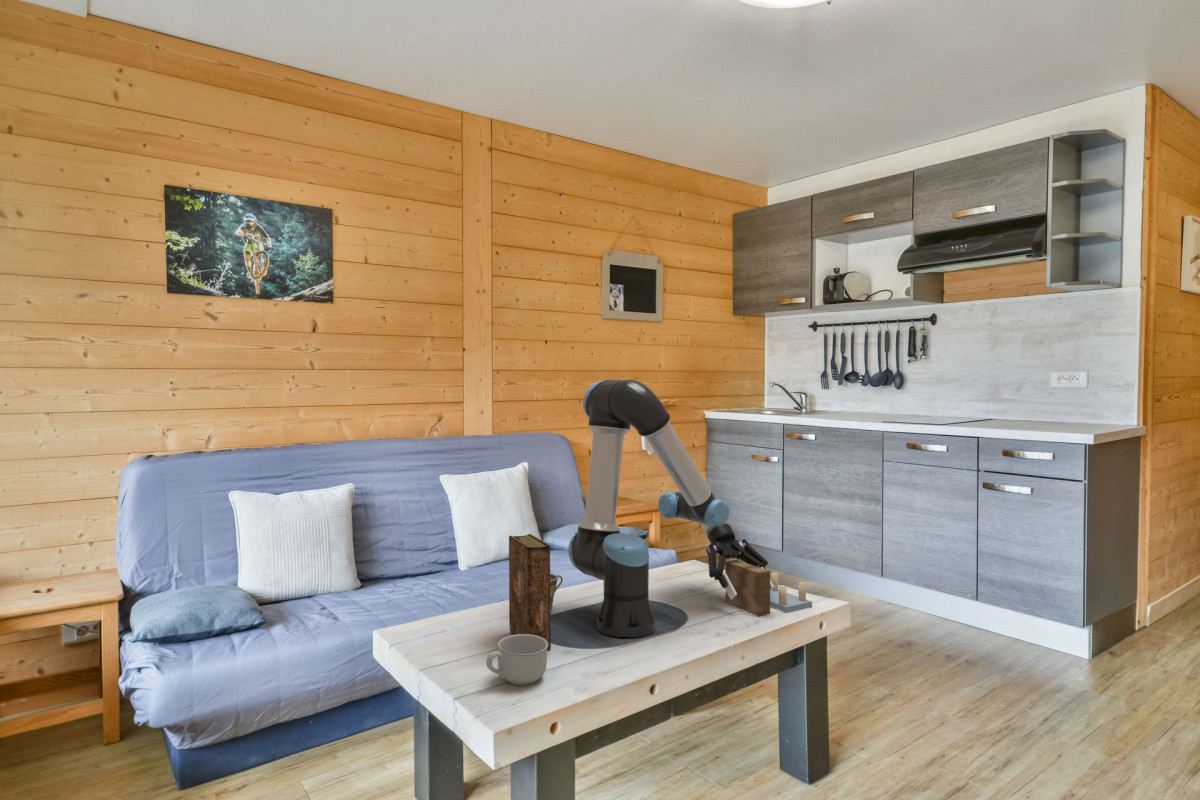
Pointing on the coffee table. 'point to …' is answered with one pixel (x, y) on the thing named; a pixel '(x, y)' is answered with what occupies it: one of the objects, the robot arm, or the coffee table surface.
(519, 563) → the book
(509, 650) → the teacup
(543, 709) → the coffee table surface
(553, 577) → the ceramic cup
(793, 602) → the cradle
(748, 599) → the board
